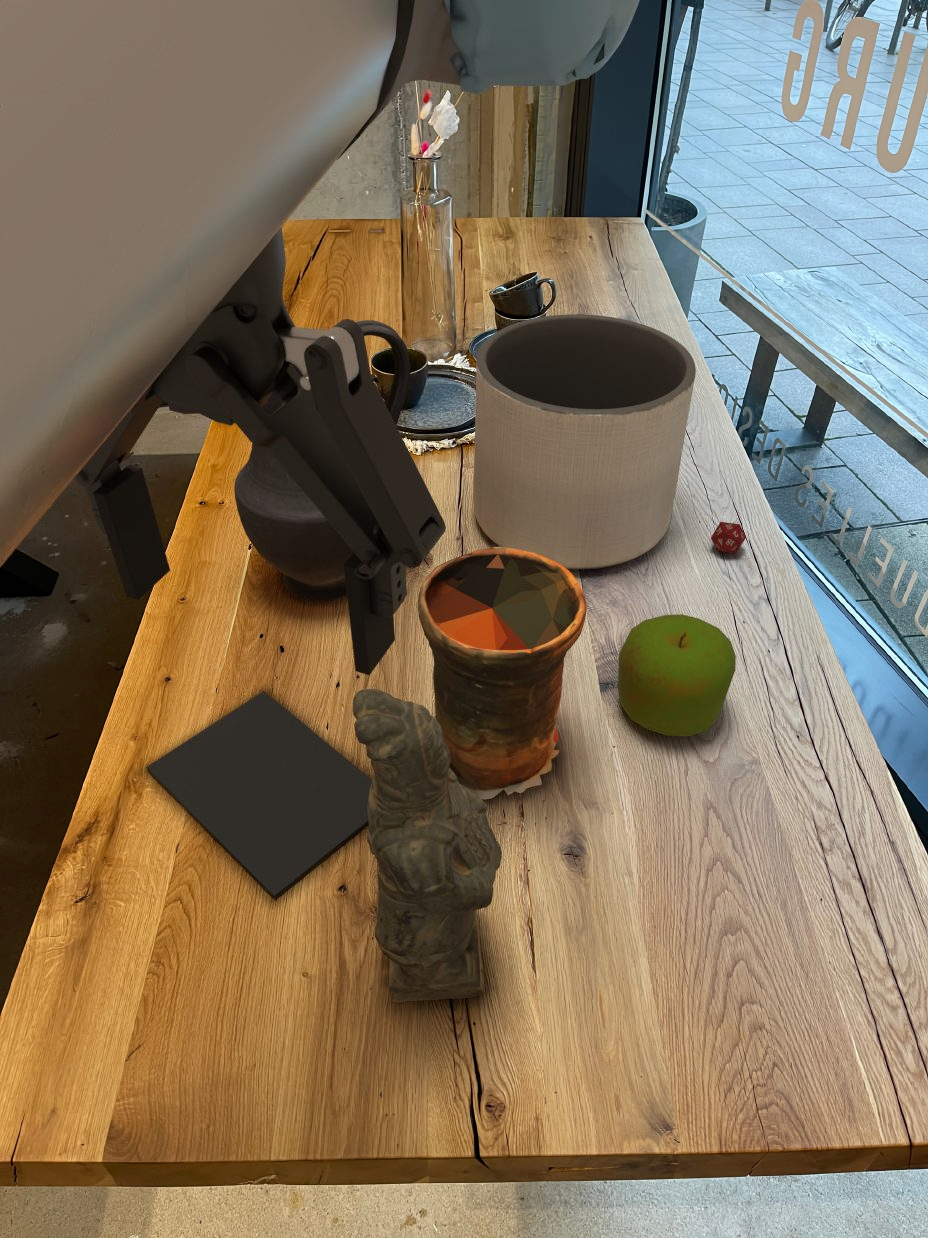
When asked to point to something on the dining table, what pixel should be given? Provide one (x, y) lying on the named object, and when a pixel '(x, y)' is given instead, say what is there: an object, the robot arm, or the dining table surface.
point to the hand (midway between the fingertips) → (257, 618)
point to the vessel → (500, 662)
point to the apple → (675, 674)
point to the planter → (579, 437)
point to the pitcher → (304, 502)
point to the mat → (267, 791)
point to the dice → (728, 537)
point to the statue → (424, 853)
